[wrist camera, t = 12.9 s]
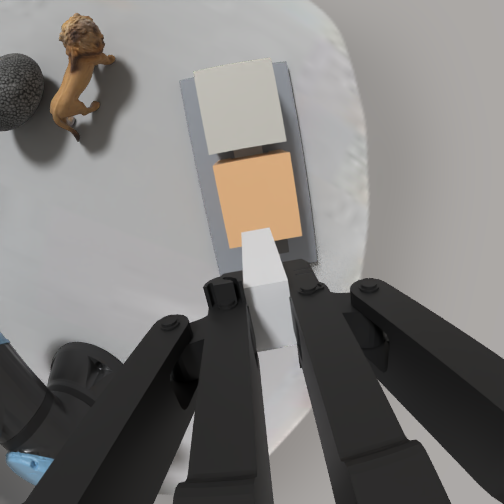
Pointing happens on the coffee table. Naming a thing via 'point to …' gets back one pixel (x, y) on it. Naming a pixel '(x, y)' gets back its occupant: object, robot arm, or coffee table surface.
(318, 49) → the coffee table surface
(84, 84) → the lion figurine
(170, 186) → the coffee table surface
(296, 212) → the block
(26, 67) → the decorative ball
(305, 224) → the rail board
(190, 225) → the coffee table surface
